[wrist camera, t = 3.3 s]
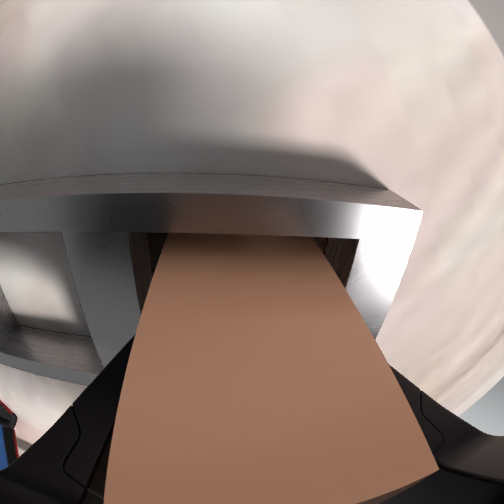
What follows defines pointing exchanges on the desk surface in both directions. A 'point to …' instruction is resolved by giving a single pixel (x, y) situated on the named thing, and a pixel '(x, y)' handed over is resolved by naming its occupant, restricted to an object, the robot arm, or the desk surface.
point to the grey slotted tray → (189, 221)
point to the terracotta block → (258, 385)
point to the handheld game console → (7, 437)
